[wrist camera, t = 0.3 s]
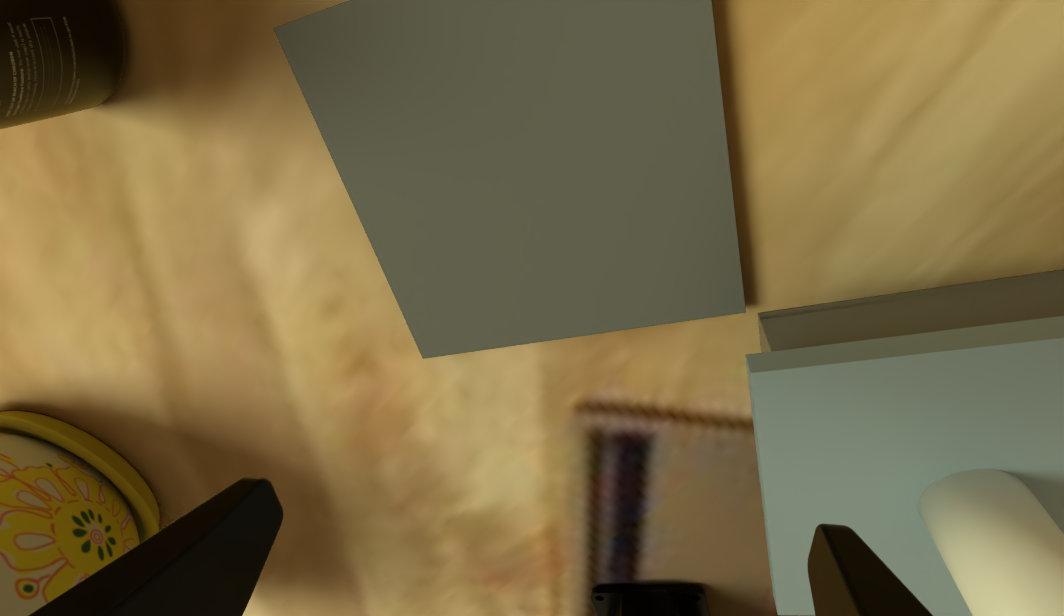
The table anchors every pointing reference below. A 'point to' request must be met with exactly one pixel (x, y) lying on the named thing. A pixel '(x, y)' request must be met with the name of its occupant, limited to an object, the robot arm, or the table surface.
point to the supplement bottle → (57, 57)
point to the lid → (921, 463)
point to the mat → (529, 161)
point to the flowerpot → (62, 509)
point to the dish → (915, 312)
